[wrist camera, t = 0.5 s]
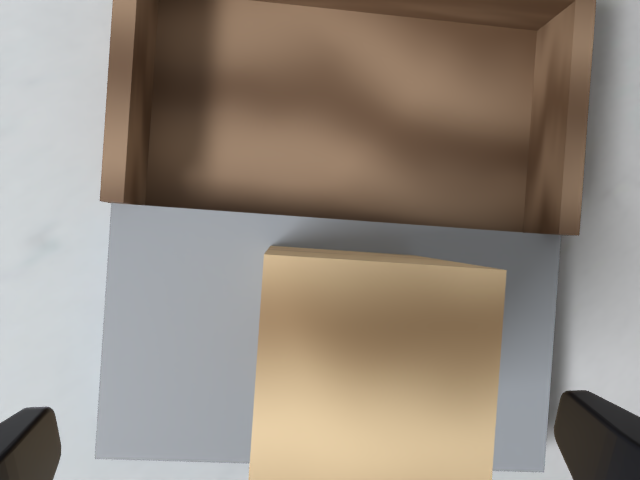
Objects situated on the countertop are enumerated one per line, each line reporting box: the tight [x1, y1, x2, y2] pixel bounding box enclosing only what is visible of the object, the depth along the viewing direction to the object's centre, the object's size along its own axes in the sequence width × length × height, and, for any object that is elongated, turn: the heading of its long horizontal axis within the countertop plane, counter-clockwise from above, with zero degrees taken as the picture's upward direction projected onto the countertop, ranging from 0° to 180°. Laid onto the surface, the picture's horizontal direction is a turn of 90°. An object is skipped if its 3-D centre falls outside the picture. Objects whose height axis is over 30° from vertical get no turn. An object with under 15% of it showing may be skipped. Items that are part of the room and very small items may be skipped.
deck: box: [95, 203, 561, 472], centre depth 25 cm, size 12×22×2 cm, turn 86°
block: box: [249, 246, 507, 480], centre depth 19 cm, size 7×7×10 cm
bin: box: [100, 0, 596, 235], centre depth 24 cm, size 12×22×4 cm, turn 86°
